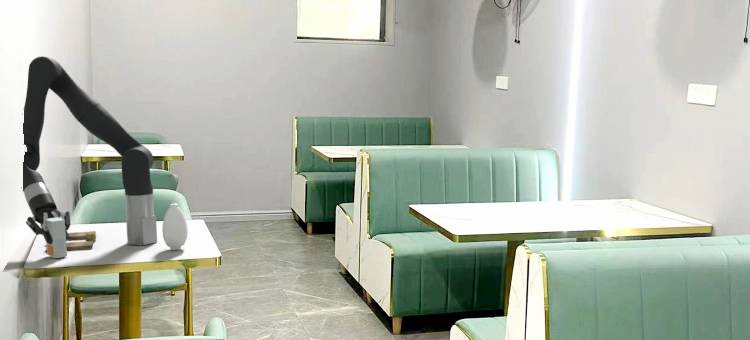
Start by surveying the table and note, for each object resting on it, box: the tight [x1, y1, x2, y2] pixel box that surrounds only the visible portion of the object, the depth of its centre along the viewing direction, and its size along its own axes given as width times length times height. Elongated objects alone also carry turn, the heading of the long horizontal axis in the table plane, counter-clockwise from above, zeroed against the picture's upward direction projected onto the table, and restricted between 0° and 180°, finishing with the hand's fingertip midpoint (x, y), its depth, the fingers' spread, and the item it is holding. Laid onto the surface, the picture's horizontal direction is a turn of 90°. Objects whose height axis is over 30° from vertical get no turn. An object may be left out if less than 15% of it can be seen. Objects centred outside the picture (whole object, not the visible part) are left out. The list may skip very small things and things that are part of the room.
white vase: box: [161, 195, 188, 251], centre depth 245 cm, size 8×8×18 cm
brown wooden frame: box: [66, 230, 97, 252], centre depth 257 cm, size 14×24×3 cm, turn 18°
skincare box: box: [45, 217, 68, 259], centre depth 236 cm, size 6×4×12 cm
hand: (58, 241), depth 235 cm, fingers closed on skincare box, 4 cm apart
